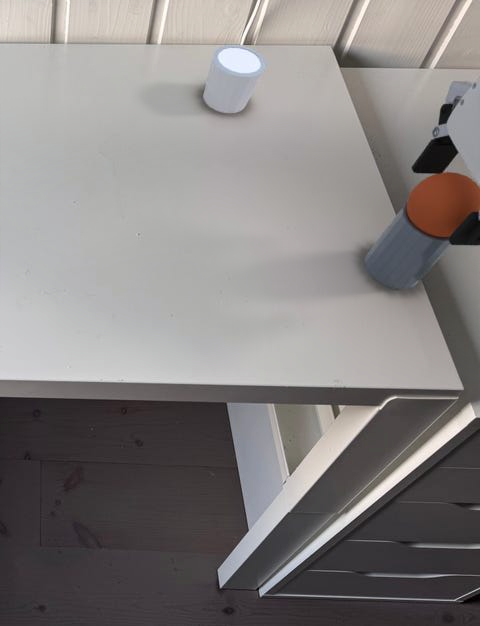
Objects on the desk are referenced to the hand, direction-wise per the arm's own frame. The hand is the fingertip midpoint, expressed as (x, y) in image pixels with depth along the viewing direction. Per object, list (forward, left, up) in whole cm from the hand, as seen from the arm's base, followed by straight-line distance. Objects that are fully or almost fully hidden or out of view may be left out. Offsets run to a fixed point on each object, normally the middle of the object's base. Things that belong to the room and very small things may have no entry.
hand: (444, 205), depth 67 cm
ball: (0, 0, 0) cm, 0 cm away
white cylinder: (+13, -29, -11) cm, 34 cm away
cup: (0, 0, -11) cm, 11 cm away
